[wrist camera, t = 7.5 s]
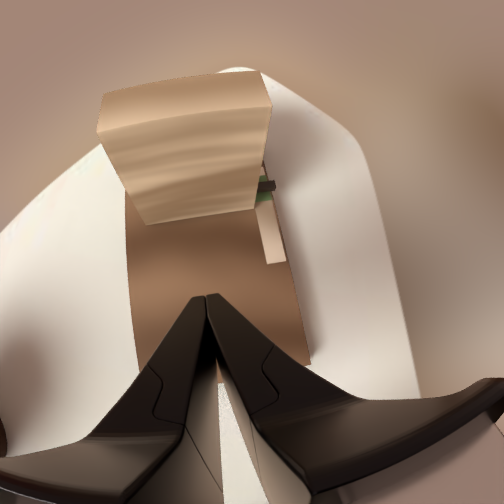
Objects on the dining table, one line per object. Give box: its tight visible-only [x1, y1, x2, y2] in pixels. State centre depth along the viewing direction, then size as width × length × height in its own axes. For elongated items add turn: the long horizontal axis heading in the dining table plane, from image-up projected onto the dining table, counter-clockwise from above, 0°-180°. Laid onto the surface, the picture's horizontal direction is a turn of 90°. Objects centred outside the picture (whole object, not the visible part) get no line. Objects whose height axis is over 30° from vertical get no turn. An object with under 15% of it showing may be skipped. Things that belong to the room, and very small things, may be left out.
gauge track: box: [125, 160, 311, 383], centre depth 16 cm, size 16×10×7 cm, turn 11°
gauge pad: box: [96, 71, 276, 225], centre depth 15 cm, size 2×9×9 cm, turn 101°
